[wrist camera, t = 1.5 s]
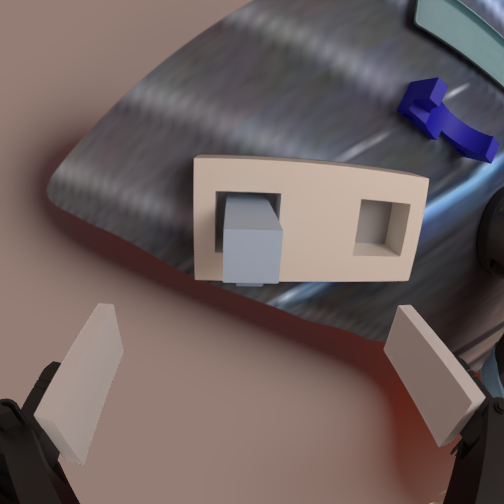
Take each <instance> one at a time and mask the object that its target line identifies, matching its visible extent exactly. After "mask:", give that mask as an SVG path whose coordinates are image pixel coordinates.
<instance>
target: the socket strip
mask: <svg viewBox="0 0 504 504" xmlns="http://www.w3.org/2000/svg"><path fill="white" fill-rule="evenodd" d="M428 184H429V179H428V178H425V177H422V176H419V175H416V174H413V173H410V172H407V171H401V170H394V169H388V168H381V167H374V166H367V165H359V164H351V163H342V162H333V161H323V160H312V159H300V158H287V157H271V156H252V155H220V154H200V155H198V156H196V157H195V158H194V267H195V280H222V281H223V236H224V220H225V209H226V199H227V194H258V195H266V197H267V199H268V201H269V203H270V205H271V207H272V209H273V211H274V213H275V215H276V217H277V219H278V221H279V223H280V225H281V227H282V229H283V240H282V251H281V262H280V273H279V281H283V282H363V281H408V280H409V276H410V273H411V269H412V265H413V261H414V257H415V252H416V248H417V244H418V239H419V234H420V230H421V225H422V220H423V214H424V209H425V203H426V197H427V191H428Z"/></svg>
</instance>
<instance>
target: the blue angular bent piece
mask: <svg viewBox="0 0 504 504" xmlns="http://www.w3.org/2000/svg"><path fill="white" fill-rule="evenodd" d="M447 88H448V86H447V85H446V84H445V83H444V82H443V81H442V80H441V79H440V78H439V77H438V78H432V79H425V80H420V81H414V82H411V83H410V85H409V87H408V89H407V91H406V93H405V95H404V97H403V99H402V101H401V103H400V105H399V107H398V109H397V111H398V112H399V113H401V114H402V115H403V116H404V117H406V118H407V119H408V120H409V121H411V122H412V123H413V124H414V125H415V126H416V127H418V128H419V129H420V130H421V131H422V132H423V133H425V134H426V135H427V136H428V137H429V138H430V139H434V140H437V139H438V137H439V135H440V134H441V135H442V136H443V137H444V138H445V139H446V140H447V141H448V142H449V143H450V144H451V145H452V146H453V147H454V148H455V149H456V150H457V151H458V152H459V153H460V154H461V155H462V156H463V157H467V158H471V159H475V160H479V161H483V162H487V163H492V161H493V159H494V156H495V154H496V151H497V149H498V146H499V143H498V142H497V140H496V139H495V138H494V137H493V136H489V135H486V134H483V133H481V132H478V131H476V130H474V129H473V128H471V127H469V126H468V125H466V124H464V123H463V122H462V121H460V120H459V119H458V118H456V117H455V116H454V115H453V114H452V113H451V112H450V111H449V110H448V109H447V108H446V107H445V105H444V104H443V103H442V99H443V97H444V95H445V93H446V90H447Z"/></svg>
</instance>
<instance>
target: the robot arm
mask: <svg viewBox="0 0 504 504" xmlns="http://www.w3.org/2000/svg"><path fill="white" fill-rule="evenodd" d="M478 256H479V260H480V262H481V265H482V266H483V268H484V269H485V270H486V271H488V272H489V273H491V274H492V275H493V276H495V277H498V278H502V279H504V187H503V188H502V189H500V190H499V191H498V192H497V193H496V194H495V195H494V196H493V198H492V199H491V201H490V202H489V204H488V206H487V208H486V210H485V212H484V215H483V218H482V221H481V224H480V228H479V234H478ZM384 351H385V353H386V355H387V357H388V358H389V360H390V362H391V363H392V365H393V366H394V368H395V370H396V372H397V373H398V375H399V376H400V378H401V380H402V382H403V383H404V385H405V387H406V389H407V390H408V392H409V394H410V396H411V397H412V399H413V401H414V402H415V404H416V406H417V408H418V410H419V412H420V413H421V415H422V417H423V419H424V421H425V422H426V424H427V426H428V428H429V430H430V432H431V433H432V435H433V437H434V439H435V441H436V443H437V445H438V447H441V446H444V445H446V444H449V443H451V442H453V441H454V440H455V438H456V437H457V436H458V434H459V433H460V435H461V436H462V439H461V440H460V441H459V443H458V444H457V445H456V446H455V447H454V448H453V450H452V451H451V453H450V454H453V453H454V452H455V451H456V450H457V449H458V450H457V454H456V455H455V456H456V459H455V463H454V468H453V471H452V475H451V479H450V482H449V486H448V489H447V493H446V496H445V499H444V502H443V504H504V334H503V335H502V337H501V338H500V340H499V341H498V342H496V343H495V345H494V347H493V350H492V352H491V353H490V355H489V356H488V358H487V359H486V361H485V362H484V364H483V366H482V370H481V380H482V382H481V381H480V380H479V378H478V377H477V376H476V375H475V373H474V372H473V371H472V370H471V368H470V367H469V366H468V364H467V363H466V362H465V361H464V360H462V359H461V358H460V357H458V356H457V355H453V354H452V353H451V352H450V350H449V349H448V348H447V347H446V346H445V344H444V343H443V342H442V341H441V340H440V338H439V337H438V336H437V335H436V334H435V332H434V331H433V330H432V329H431V328H430V326H429V325H428V324H427V323H426V322H425V321H424V319H423V318H422V317H421V316H420V315H419V314H418V313H417V311H416V310H415V309H414V308H413V307H412V306H411V305H399V306H398V308H397V311H396V314H395V317H394V320H393V324H392V327H391V330H390V333H389V335H388V338H387V341H386V344H385V347H384ZM123 353H124V350H123V346H122V341H121V337H120V333H119V328H118V323H117V319H116V314H115V309H114V304H104V303H98V305H97V306H96V308H95V309H94V311H93V312H92V314H91V315H90V317H89V318H88V320H87V322H86V323H85V325H84V326H83V328H82V330H81V331H80V333H79V335H78V336H77V338H76V339H75V341H74V343H73V344H72V346H71V348H70V349H69V351H68V353H67V354H66V356H65V358H64V360H63V361H62V363H59V362H54V361H53V362H52V363H51V364H49V365H48V366H47V367H46V368H45V369H44V370H43V372H42V373H41V375H40V377H39V380H37V382H36V383H35V385H34V388H33V389H32V390H31V392H30V394H29V396H28V397H27V399H26V401H25V403H24V405H23V407H22V409H20V408H19V406H18V405H17V403H16V402H14V401H13V400H11V399H1V400H0V504H80V503H79V501H78V499H77V497H76V496H75V494H74V492H73V490H72V488H71V486H70V484H69V482H68V480H67V478H66V476H65V474H64V472H63V469H62V467H61V465H60V463H59V462H58V460H57V459H58V457H59V453H60V454H61V455H62V456H63V457H64V459H65V460H66V461H69V462H73V463H76V464H80V465H84V464H85V461H86V458H87V454H88V451H89V448H90V445H91V442H92V438H93V436H94V433H95V429H96V427H97V424H98V421H99V418H100V414H101V412H102V409H103V406H104V403H105V400H106V398H107V395H108V392H109V390H110V386H111V384H112V382H113V379H114V376H115V373H116V371H117V368H118V366H119V363H120V361H121V358H122V356H123Z"/></svg>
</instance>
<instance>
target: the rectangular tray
mask: <svg viewBox="0 0 504 504" xmlns="http://www.w3.org/2000/svg"><path fill="white" fill-rule="evenodd" d="M413 22H414V25H415V26H417V27H419V28H420V29H422V30H424V31H425V32H427V33H429V34H430V35H432V36H433V37H435V38H437V39H438V40H440V41H441V42H443V43H444V44H446V45H447V46H449V47H450V48H452V49H453V50H454V51H456V52H457V53H459V54H460V55H461V56H463V57H464V58H466V59H467V60H468V61H470V62H471V63H472V64H474V65H475V66H476V67H477V68H479V69H480V70H481V71H483V72H484V73H485V74H486V75H487V76H489V77H490V78H491V79H492V80H493V81H495V82H496V83H497V84H498V85H499V86H500V87H502V88H503V89H504V37H503V36H502V35H501V34H500V33H498V32H497V31H496V30H495V29H494V28H493V27H492V26H491V25H489V24H488V23H487V22H486V21H485V20H484V19H482V18H481V17H480V16H479V15H478V14H476V13H475V12H474V11H473V10H471V9H470V8H469V7H468V6H466V5H465V4H464V3H462V2H461V1H460V0H416V5H415V13H414V21H413Z"/></svg>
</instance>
